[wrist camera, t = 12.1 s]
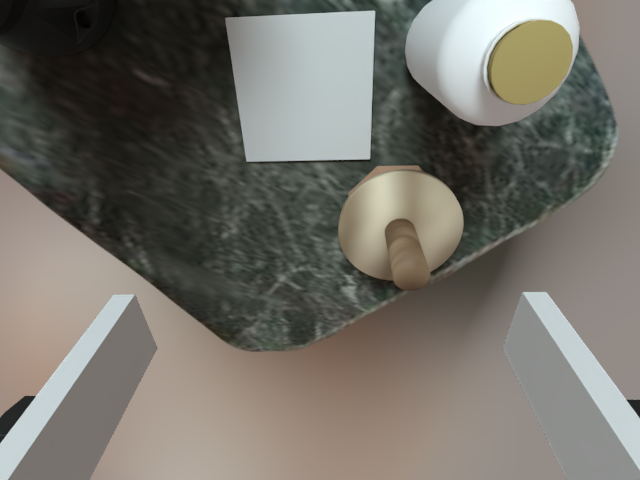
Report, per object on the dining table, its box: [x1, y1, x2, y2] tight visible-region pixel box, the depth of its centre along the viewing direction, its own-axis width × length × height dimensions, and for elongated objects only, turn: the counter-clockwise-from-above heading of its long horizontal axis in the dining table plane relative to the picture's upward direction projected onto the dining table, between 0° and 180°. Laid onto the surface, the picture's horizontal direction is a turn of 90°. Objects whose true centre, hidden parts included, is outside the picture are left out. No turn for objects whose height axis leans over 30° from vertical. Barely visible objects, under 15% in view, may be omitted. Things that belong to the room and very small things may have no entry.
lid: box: [338, 169, 463, 291], centre depth 35 cm, size 13×13×9 cm
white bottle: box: [405, 0, 580, 126], centre depth 27 cm, size 8×8×18 cm
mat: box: [225, 11, 375, 162], centre depth 37 cm, size 14×14×1 cm
